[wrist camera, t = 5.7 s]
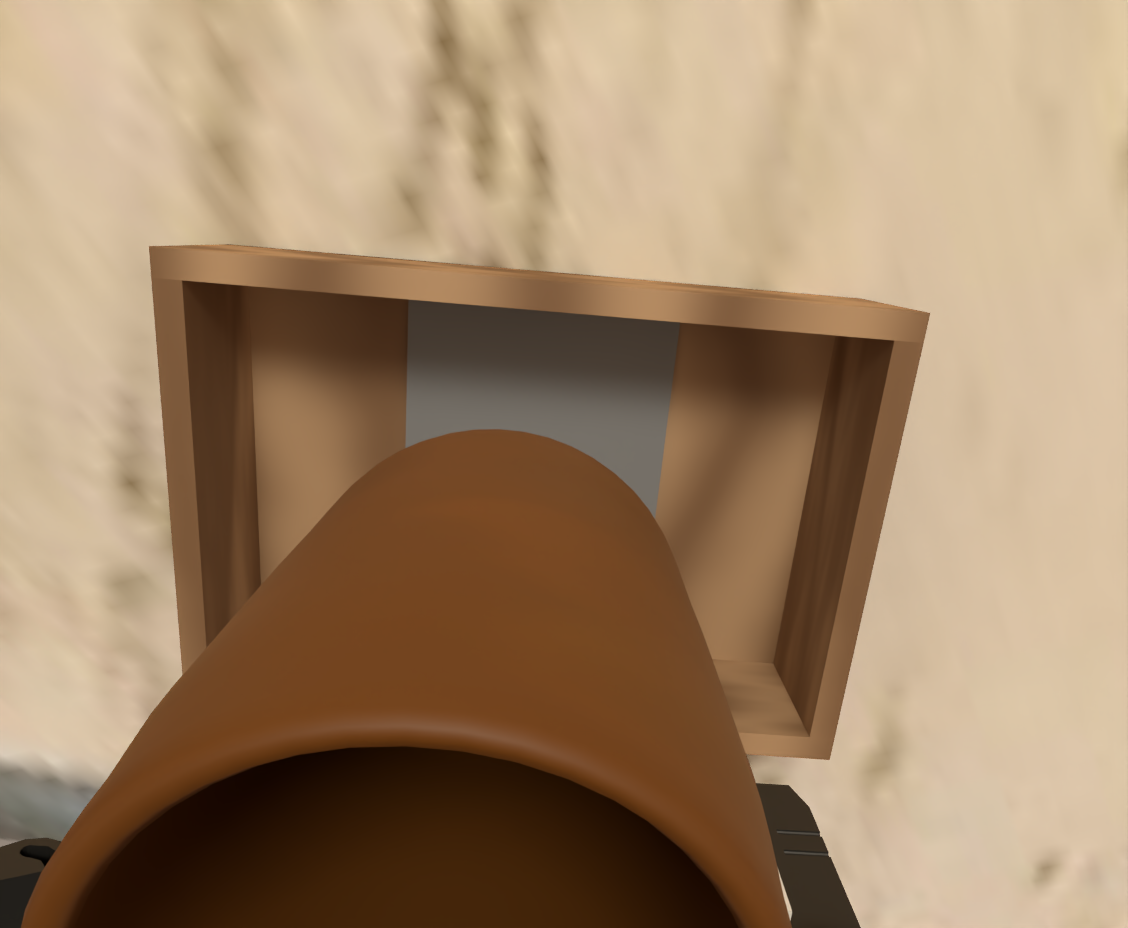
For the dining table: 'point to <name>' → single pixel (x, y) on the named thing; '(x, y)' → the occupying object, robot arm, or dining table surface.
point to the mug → (441, 727)
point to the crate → (689, 468)
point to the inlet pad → (545, 381)
